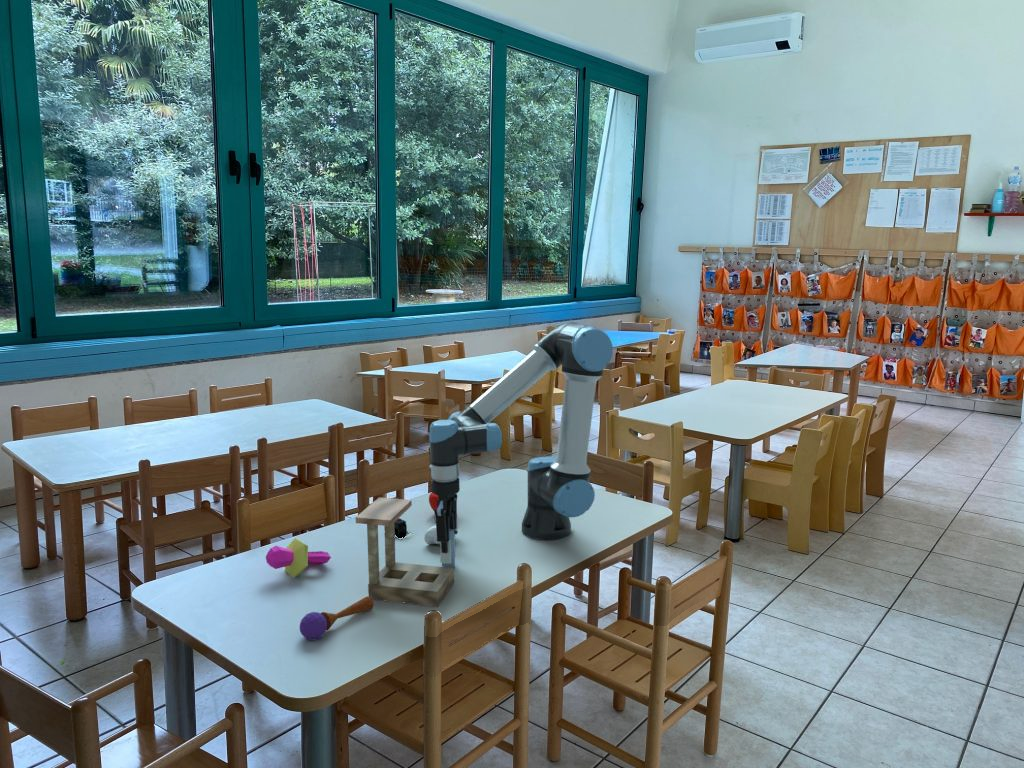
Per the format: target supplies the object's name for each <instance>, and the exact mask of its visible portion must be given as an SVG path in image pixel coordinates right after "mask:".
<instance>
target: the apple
mask: <svg viewBox="0 0 1024 768" xmlns="http://www.w3.org/2000/svg"><path fill="white" fill-rule="evenodd" d="M437 500H438V496H437V495H436V494H433V493H432V491H431V492H430V494H429V496H428V502H429V506H430V508H431V509H432V510H433V512H434V510H435V508H438V506H437Z"/></svg>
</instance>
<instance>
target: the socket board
mask: <svg viewBox="0 0 1024 768" xmlns="http://www.w3.org/2000/svg"><path fill="white" fill-rule="evenodd" d="M379 578H380V581H379V582H378V583H377V584H370V583H369V582H368V584H367V588H368V589H367V591H368V597H370V598H371V599H377V600H376V601H380V600H386V601H385V602H389V601H395V602H394V603H398V602H405V603H404V604H407V603H413V604H412V605H416V604H420V605H419V606H425V605H426V607H435V608H438V607H439V605H440V604H441V602H442V601H443V600H444V599H445V597H446V596H447V594H448V592H449V591H450V589H451V588H452V586H453V585H454V583H455V567H453V568H448V567H442V566H438V565H437V566H436V565H428V564H427V565H426V564H419V563H418V564H416V563H409V562H408V563H407V562H397V561H395V564H394V565H393V566H386V564H385V565H384V567H383V568H382V569H381V570H379ZM427 605H428V606H427Z"/></svg>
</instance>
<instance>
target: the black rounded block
mask: <svg viewBox="0 0 1024 768" xmlns="http://www.w3.org/2000/svg"><path fill="white" fill-rule="evenodd" d="M394 526H395V535H396V536H397V537H398V538H402V537H403V538H404V537H405V536H407V535H408V534H409V533H410V532H409V531H407V528H408V527H407V521H406V520H404V519H402V518H401V517H399V518H398V519H397V520H396V521H395V522H394ZM408 532H409V533H408Z"/></svg>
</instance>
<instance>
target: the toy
mask: <svg viewBox="0 0 1024 768" xmlns="http://www.w3.org/2000/svg"><path fill="white" fill-rule="evenodd" d="M288 544H289V545H288V546H287V547H282V546H279V545H275V546H273V547H271V548H270V549H269V550H268V551H267V553H266V556H265V562H266V564H267V565H269V566H270V567H271V568H273V569H275V570H276V569H282V568H284V572H286V573H287V572H288V573H287V574H288V575H290V576H291V575H292V576H291V577H293V578H296V577H299V576H300V575H301V574H302V573H303V572H304V571H305V570H306V569H307V567H308V566H309V565H322V564H328V562H329V561H330V560H331V558H332V557H331V555H330V554H329V553H328V551H309V545H308V544H306V543H304V542H303V541H302V540H300V539H298V538H294V539H293V540H291V542H290V543H288Z"/></svg>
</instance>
